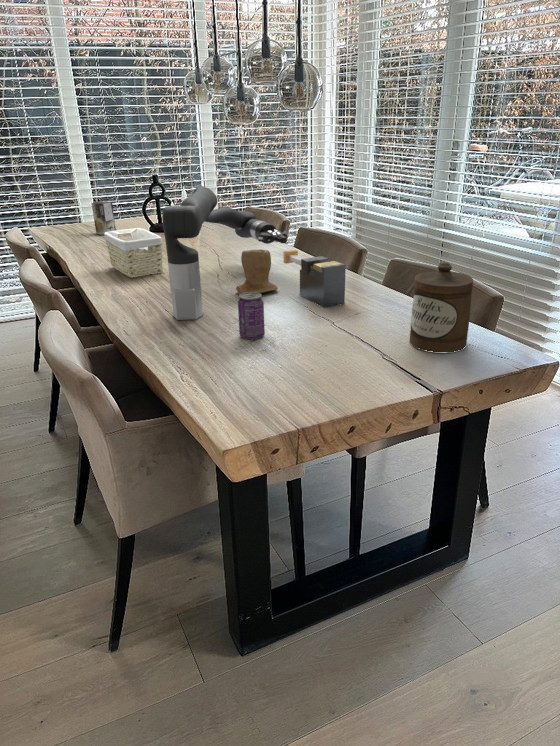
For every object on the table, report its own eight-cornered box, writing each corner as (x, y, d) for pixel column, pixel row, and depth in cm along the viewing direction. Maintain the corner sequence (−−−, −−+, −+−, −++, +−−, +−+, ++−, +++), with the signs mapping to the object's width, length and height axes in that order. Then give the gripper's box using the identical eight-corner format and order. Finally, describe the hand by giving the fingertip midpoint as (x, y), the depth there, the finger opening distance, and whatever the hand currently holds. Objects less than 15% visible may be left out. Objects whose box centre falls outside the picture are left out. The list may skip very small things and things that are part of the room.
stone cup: (264, 284, 209) (263, 243, 203) (282, 292, 200) (281, 249, 194) (227, 291, 202) (225, 249, 196) (244, 300, 193) (242, 255, 187)
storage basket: (167, 273, 227) (163, 236, 221) (127, 280, 219) (122, 241, 213) (144, 261, 245) (140, 226, 239) (107, 267, 237) (102, 231, 231)
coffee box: (117, 233, 303) (112, 201, 296) (107, 235, 298) (103, 203, 291) (105, 231, 308) (100, 200, 301) (95, 233, 303) (90, 202, 296)
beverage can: (251, 330, 167) (249, 290, 162) (269, 335, 162) (268, 294, 157) (234, 337, 162) (232, 296, 157) (253, 342, 158) (251, 300, 152)
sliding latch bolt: (283, 262, 205) (283, 251, 204) (295, 260, 207) (295, 249, 206) (308, 273, 191) (308, 261, 190) (320, 271, 193) (321, 259, 192)
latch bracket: (299, 295, 196) (299, 257, 191) (319, 291, 200) (320, 254, 194) (323, 307, 184) (324, 267, 178) (344, 303, 187) (345, 264, 182)
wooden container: (398, 344, 155) (404, 263, 146) (428, 329, 164) (436, 253, 155) (447, 358, 145) (457, 273, 136) (476, 343, 154) (487, 262, 145)
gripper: (247, 223, 217) (267, 232, 203) (278, 220, 222) (300, 227, 208) (248, 243, 220) (268, 253, 206) (278, 239, 225) (300, 248, 211)
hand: (284, 240), depth 207 cm, fingers closed
